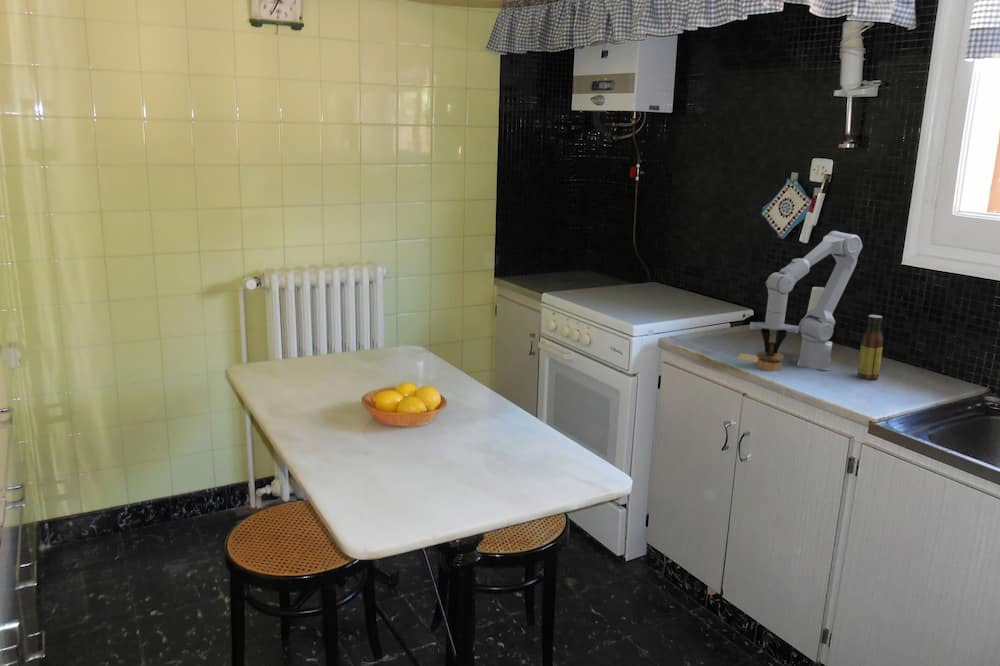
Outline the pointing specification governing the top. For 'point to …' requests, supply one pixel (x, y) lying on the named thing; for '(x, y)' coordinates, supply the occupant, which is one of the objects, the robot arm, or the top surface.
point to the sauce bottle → (871, 349)
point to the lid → (770, 354)
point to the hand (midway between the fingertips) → (770, 352)
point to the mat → (748, 357)
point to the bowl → (769, 365)
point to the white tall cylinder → (815, 297)
